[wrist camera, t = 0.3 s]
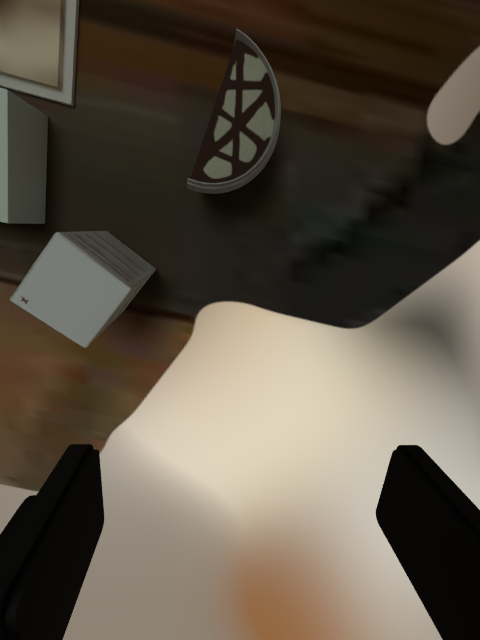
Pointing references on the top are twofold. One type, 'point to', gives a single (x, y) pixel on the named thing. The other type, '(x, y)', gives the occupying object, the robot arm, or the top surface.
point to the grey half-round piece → (239, 123)
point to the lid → (32, 40)
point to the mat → (68, 64)
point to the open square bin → (22, 161)
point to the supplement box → (82, 283)
